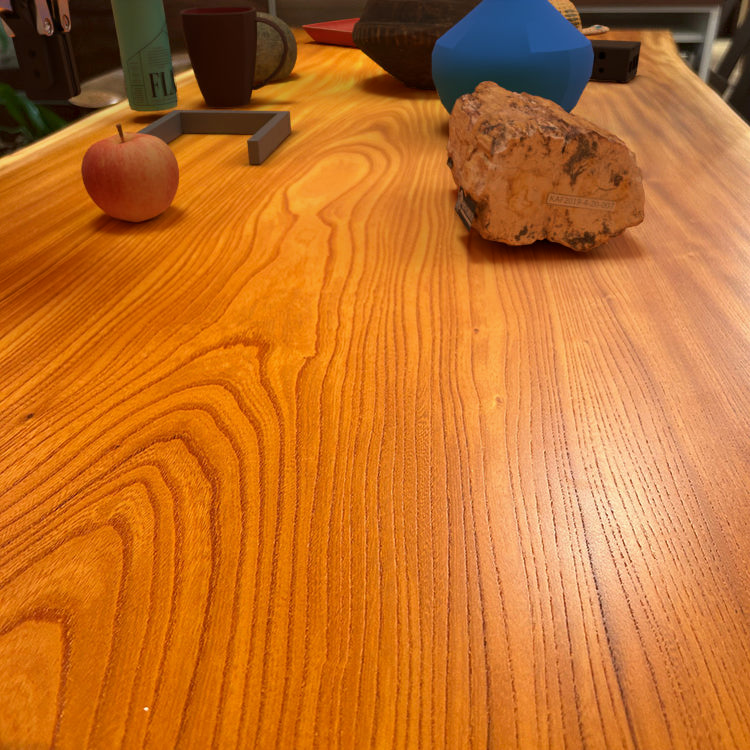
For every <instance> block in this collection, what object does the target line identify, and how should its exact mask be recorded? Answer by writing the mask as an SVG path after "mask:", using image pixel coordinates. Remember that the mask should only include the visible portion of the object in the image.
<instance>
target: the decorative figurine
mask: <svg viewBox="0 0 750 750" xmlns="http://www.w3.org/2000/svg"><path fill="white" fill-rule="evenodd" d="M548 1H549V2H550V3H551V4H552V5H553V6H554V7H555V8H556V9H557V10H558V11H559V12H560V13H561V14H562V15H563V16H564V17H565V18H566V19H567V20H568V21H569V22H570V23H571V24H572V25H573V26H575V27H576V28H577V29H578V30H579V31H580V32H581V33H582V34H583V35H584V36H585V37H594V36H601V35H605V34H608V32H609V31H610V28H609V27H608V26H604V25H600V24H594V25H591V26H590V27H586V28H583V26H582V25H583V24H582V20H581V17H580V16H581V15H580V13H579V11H578V10H577V8H576V6H575V4H574V3H573V2H572V1H570V0H548Z"/></svg>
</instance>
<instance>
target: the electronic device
mask: <svg viewBox="0 0 750 750" xmlns="http://www.w3.org/2000/svg"><path fill="white" fill-rule="evenodd" d="M588 39H589V40H590V41H591V44H592V48H593V53H594V60H593V68H592V75H591V77H590V79H589V81H602V82H603V81H604V82H616V83H627V82H628V81H630V80H632V78H634V77H635V76H636V75H637V73H638V68H639V61H640V54H641V47H642V46H641V45H642V41H638V40H637V41H635V40H615V39H612V40H611V39H591V38H588Z"/></svg>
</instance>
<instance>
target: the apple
mask: <svg viewBox="0 0 750 750" xmlns="http://www.w3.org/2000/svg"><path fill="white" fill-rule="evenodd" d="M115 127H116V130H117V132H118V133H116V134H114V135H111V136H109V137H105V138H103V139H100V140H98V141H96V142H94V143H93V144H91V145H90V146H89V148H87V150H86V152H85V153H84V155H83V158H82V162H81V168H80V169H81V178H82V183H83V186H84V188H85V190H86V192H87V194H88V196H89V198H90V199H91V200H92V201H93V203H94V204H95V205H96V206H97V207H98V208H99V209H100V210H102V212H104V213H105V214H107V215H108V216H110V217H112V218H114V219H117V220H121V221H124V222H125V221H126V222H131V223H141V222H144V221H148V220H151V219H154V218H156V217H158V216H159V215H161V214H162V213H164V212H165V211H166V210H167V209H168V208H169V207H171V205H172V203H173V201H174V199H175V197H176V195H177V193H178V189H179V184H180V167H179V164H178V161H177V160H178V159H177V157H176V155H175V153H174V152H173V150H172V149H171V147H170V146H169V145H168V144H166V143H165V142H164V141H162V140H161V139H159V138H157V137H155V136H152V135H148V134H140V133H136V132H129V131H128V132H123V131H124V130H123V126H122V124H120V123H117V124H115Z"/></svg>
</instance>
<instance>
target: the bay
mask: <svg viewBox="0 0 750 750" xmlns="http://www.w3.org/2000/svg"><path fill="white" fill-rule="evenodd" d="M135 133H140V134H148V135H152V136H155V137H157V138H159V139H161V140H162V141H164V142H165V143H166V144H167V145H168V144H169V143H171V142H172V141H173V140H176V139H177V138H179V137H180V136H181V135H182V134H208V135H209V134H214V135H216V134H218V135H252V136H251V137H249V138H248V139H247V140H246V146H247V153H248V163H249V165H257V166H258V165H261V164H262V163H263V162H264V161H265V160H266V159H267V158H268V157H269V156H270V155H271V154H272V153H273V152H274V151H275V150H276V149H277V147H279V146H280V145H281V144H282V143H283V142H284V140H285V139H286V138H288V136H289V135H290V134H292V122H291V111H290V110H220V109H216V110H214V109H172V111H170V112H168V113H167V114H165V115H163V116H162V117H160V118H158V119H156V120H155V121H153V122H151V123H150V124H148V125H146V126H145V127H143V128H141V129H140V130H138V131H137V132H135Z"/></svg>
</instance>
